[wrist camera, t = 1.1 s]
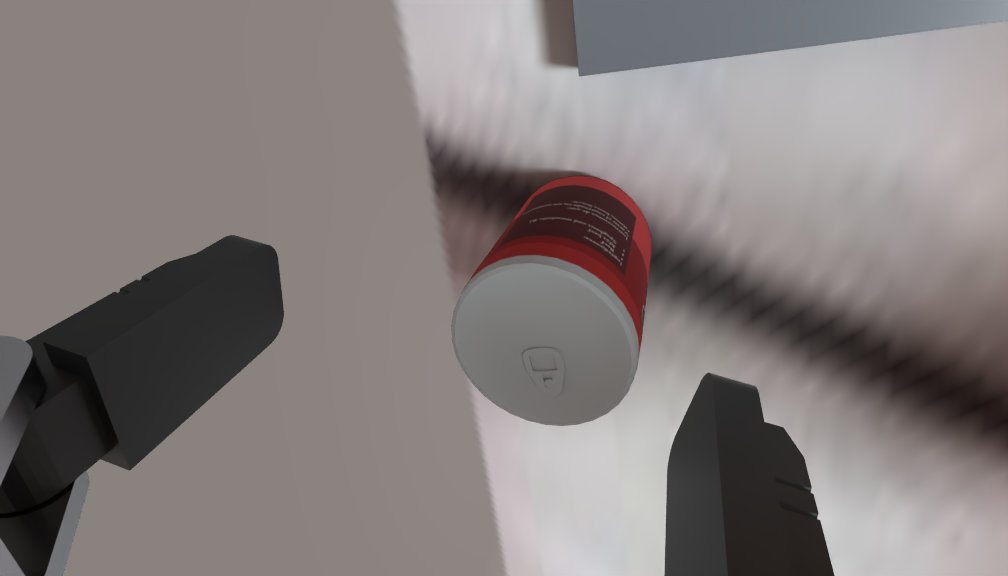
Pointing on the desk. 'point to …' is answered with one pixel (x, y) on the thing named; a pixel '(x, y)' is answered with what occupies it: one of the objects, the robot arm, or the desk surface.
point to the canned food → (559, 305)
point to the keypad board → (750, 26)
